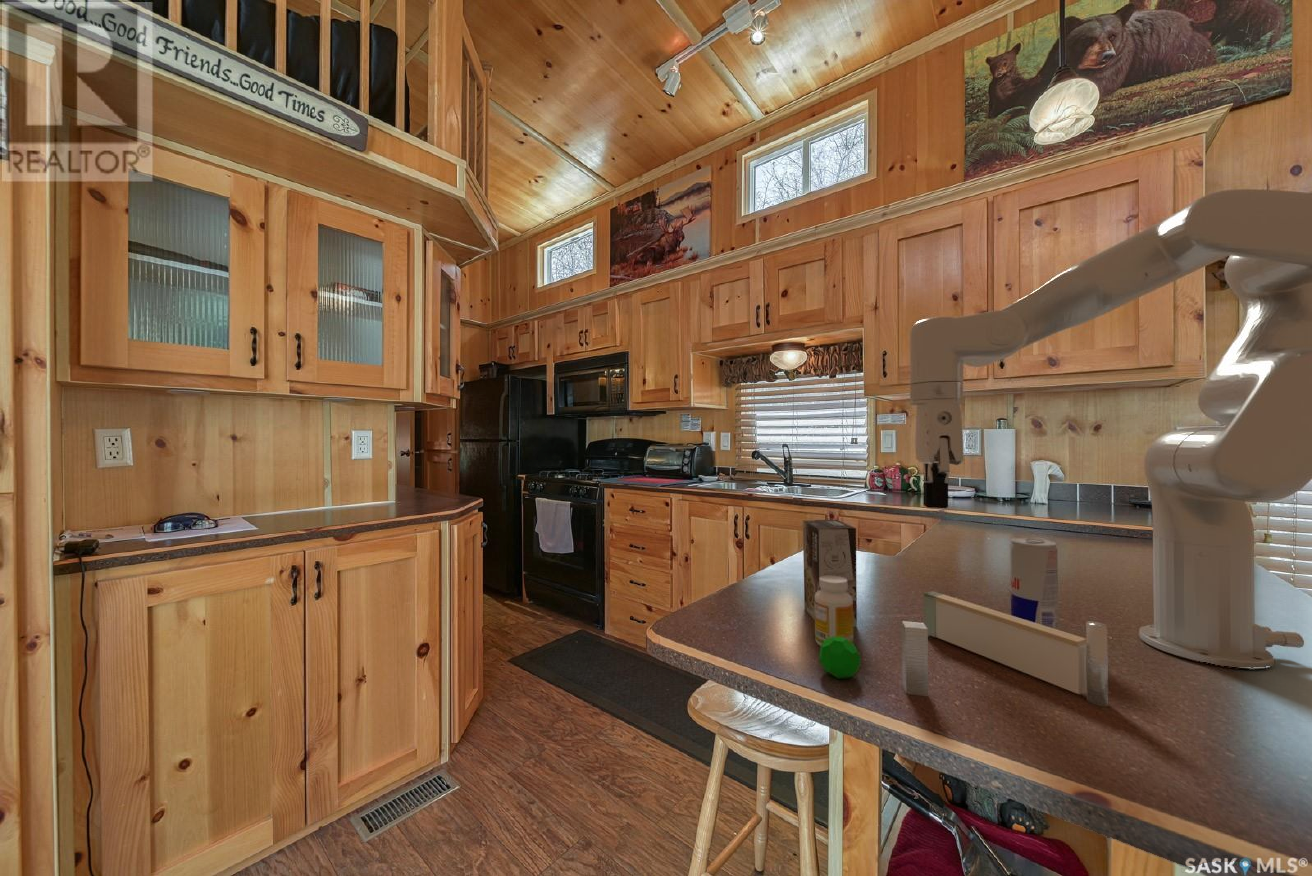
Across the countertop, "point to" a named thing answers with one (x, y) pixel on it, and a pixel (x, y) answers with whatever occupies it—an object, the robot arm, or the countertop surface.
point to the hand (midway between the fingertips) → (935, 506)
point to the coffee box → (828, 558)
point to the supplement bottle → (833, 609)
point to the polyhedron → (839, 657)
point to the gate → (1009, 640)
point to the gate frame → (918, 660)
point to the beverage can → (1034, 581)
